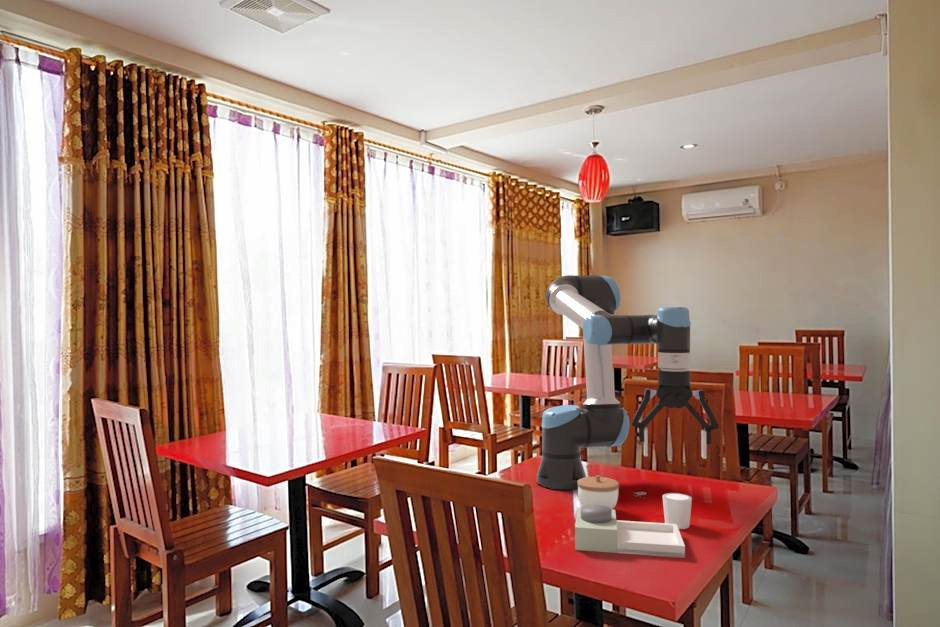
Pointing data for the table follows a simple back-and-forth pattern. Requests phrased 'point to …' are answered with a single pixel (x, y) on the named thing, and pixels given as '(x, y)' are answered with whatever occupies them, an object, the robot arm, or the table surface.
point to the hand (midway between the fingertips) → (674, 456)
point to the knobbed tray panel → (625, 534)
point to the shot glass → (677, 509)
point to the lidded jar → (598, 491)
